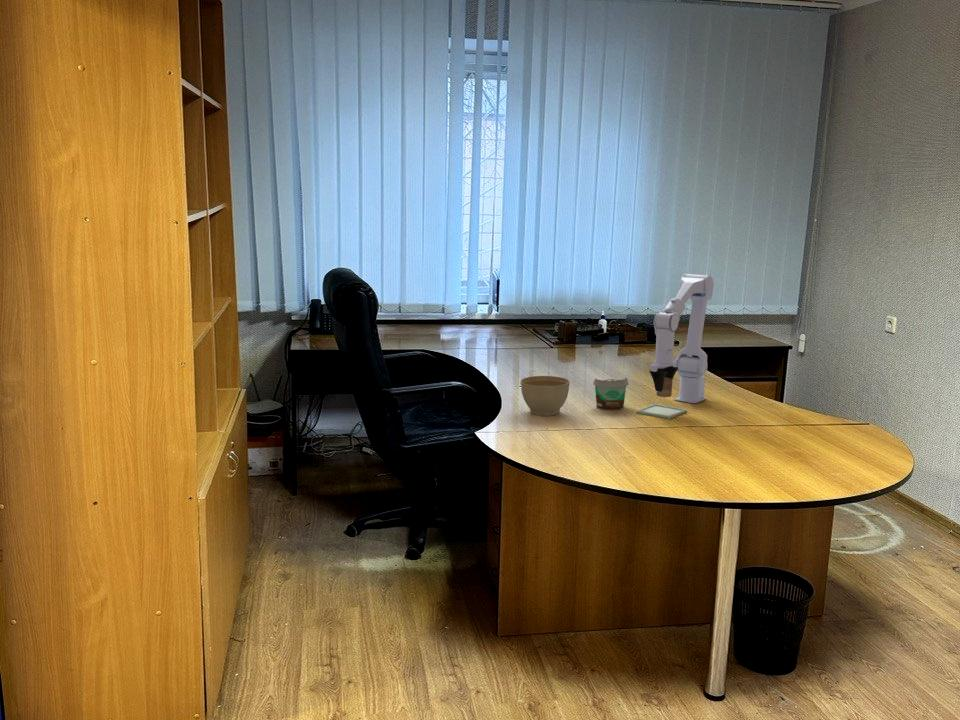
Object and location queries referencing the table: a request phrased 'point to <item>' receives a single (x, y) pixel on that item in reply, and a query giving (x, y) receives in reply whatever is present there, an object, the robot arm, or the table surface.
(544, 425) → the table surface
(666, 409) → the coaster
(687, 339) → the robot arm
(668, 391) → the walnut cylinder
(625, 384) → the food container
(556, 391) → the planter bowl
